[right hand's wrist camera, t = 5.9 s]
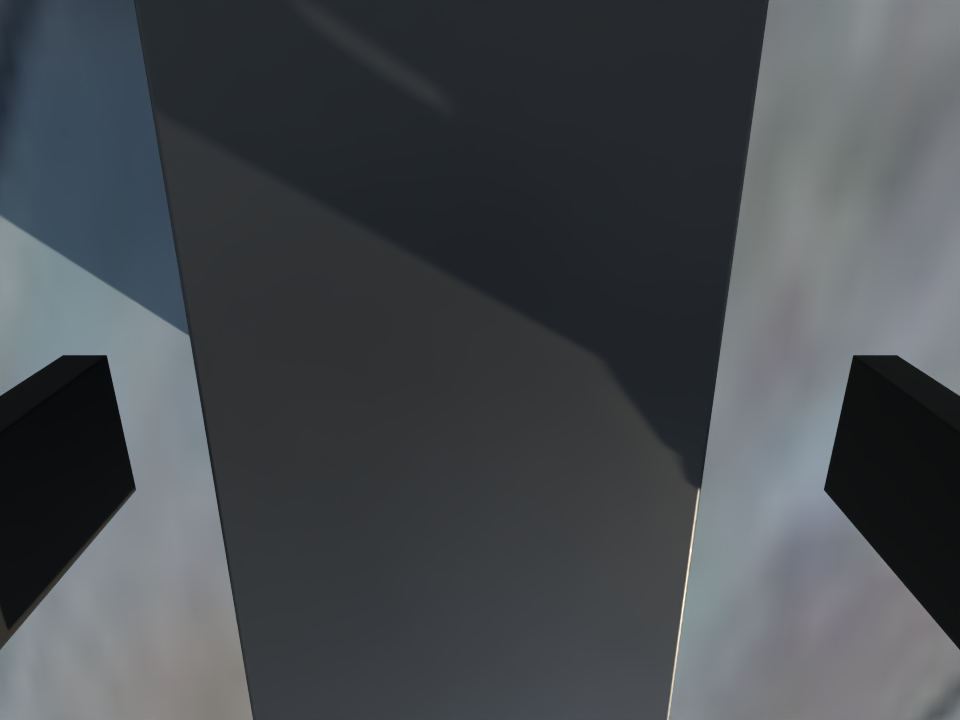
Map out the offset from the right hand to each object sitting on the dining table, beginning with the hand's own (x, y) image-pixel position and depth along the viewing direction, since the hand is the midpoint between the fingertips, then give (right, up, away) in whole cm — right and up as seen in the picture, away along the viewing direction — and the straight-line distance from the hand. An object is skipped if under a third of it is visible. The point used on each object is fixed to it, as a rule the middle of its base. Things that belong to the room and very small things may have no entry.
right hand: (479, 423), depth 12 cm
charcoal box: (0, +16, 0) cm, 16 cm away
